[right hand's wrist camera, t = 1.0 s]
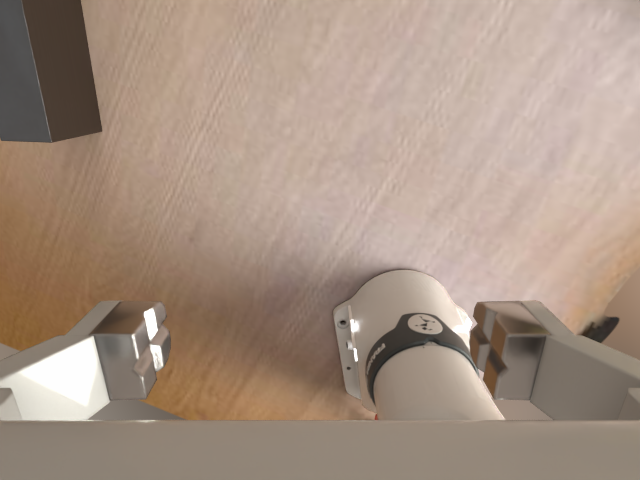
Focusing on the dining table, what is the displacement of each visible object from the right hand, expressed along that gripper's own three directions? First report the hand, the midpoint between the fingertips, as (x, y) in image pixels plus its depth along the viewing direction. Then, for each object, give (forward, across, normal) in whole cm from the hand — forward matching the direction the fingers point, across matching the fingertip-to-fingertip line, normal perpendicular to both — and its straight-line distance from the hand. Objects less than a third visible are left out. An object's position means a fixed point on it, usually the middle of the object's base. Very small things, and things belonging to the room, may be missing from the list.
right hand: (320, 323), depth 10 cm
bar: (+38, -28, +13) cm, 49 cm away
